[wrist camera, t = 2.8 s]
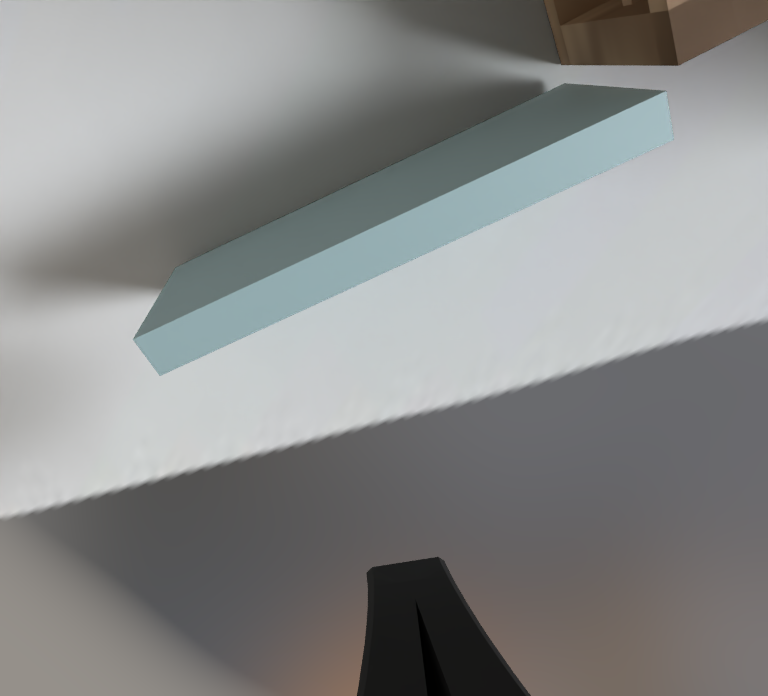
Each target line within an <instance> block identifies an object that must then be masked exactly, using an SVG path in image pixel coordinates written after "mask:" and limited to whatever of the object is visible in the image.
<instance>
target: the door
mask: <svg viewBox="0 0 768 696" xmlns="http://www.w3.org/2000/svg"><path fill="white" fill-rule="evenodd" d="M672 140H674V136H673V130H672V124H671V117H670V111H669V105H668V98H667V92H666V91H661V90H647V89H634V88H620V87H607V86H593V85H580V84H566V83H564V84H562V85H560V86H558V87H556V88H554V89H552V90H550V91H548V92H545V93H543V94H541V95H539V96H537V97H535V98H533V99H531V100H529V101H526V102H524V103H522V104H520V105H518V106H516V107H514V108H512V109H509V110H507V111H505V112H503V113H501V114H499V115H497V116H495V117H493V118H490V119H488V120H486V121H484V122H482V123H480V124H478V125H476V126H474V127H471V128H469V129H467V130H465V131H463V132H461V133H459V134H457V135H454V136H452V137H450V138H448V139H446V140H444V141H442V142H440V143H438V144H435V145H433V146H431V147H429V148H427V149H425V150H423V151H421V152H419V153H416V154H414V155H412V156H410V157H408V158H406V159H404V160H402V161H400V162H397V163H395V164H393V165H391V166H389V167H387V168H385V169H383V170H380V171H378V172H376V173H374V174H372V175H370V176H368V177H366V178H364V179H361V180H359V181H357V182H355V183H353V184H351V185H349V186H347V187H345V188H342V189H340V190H338V191H336V192H334V193H332V194H330V195H328V196H326V197H323V198H321V199H319V200H317V201H315V202H313V203H311V204H309V205H306V206H304V207H302V208H300V209H298V210H296V211H294V212H292V213H290V214H287V215H285V216H283V217H281V218H279V219H277V220H275V221H273V222H271V223H268V224H266V225H264V226H262V227H260V228H258V229H256V230H254V231H252V232H249V233H247V234H245V235H243V236H241V237H239V238H237V239H235V240H232V241H230V242H228V243H226V244H224V245H222V246H220V247H218V248H216V249H213V250H211V251H209V252H207V253H205V254H203V255H201V256H199V257H197V258H194V259H192V260H190V261H188V262H186V263H184V264H182V265H180V266H178V267H176V268H175V270H174V271H173V273H172V275H171V276H170V278H169V280H168V281H167V283H166V285H165V286H164V288H163V290H162V291H161V293H160V295H159V296H158V298H157V300H156V302H155V303H154V305H153V307H152V308H151V310H150V312H149V313H148V315H147V317H146V318H145V320H144V322H143V323H142V325H141V327H140V328H139V330H138V332H137V333H136V335H135V337H134V338H133V340H134V342H135V343H136V344H137V346H138V347H139V348H140V350H141V351H142V352H143V354H144V355H145V356H146V358H147V359H148V361H149V362H150V363H151V365H152V366H153V367H154V369H155V370H156V371H157V373H158V374H159V375H160V376H161V375H163V374H165V373H167V372H170V371H172V370H174V369H176V368H178V367H181V366H183V365H185V364H187V363H189V362H191V361H194V360H196V359H198V358H200V357H202V356H204V355H207V354H209V353H211V352H213V351H215V350H218V349H220V348H222V347H224V346H226V345H228V344H231V343H233V342H235V341H237V340H239V339H241V338H244V337H246V336H248V335H250V334H252V333H255V332H257V331H259V330H261V329H263V328H265V327H268V326H270V325H272V324H274V323H276V322H278V321H281V320H283V319H285V318H287V317H289V316H292V315H294V314H296V313H298V312H300V311H302V310H305V309H307V308H309V307H311V306H313V305H315V304H318V303H320V302H322V301H324V300H326V299H328V298H331V297H333V296H335V295H337V294H339V293H342V292H344V291H346V290H348V289H350V288H352V287H355V286H357V285H359V284H361V283H363V282H365V281H368V280H370V279H372V278H374V277H376V276H379V275H381V274H383V273H385V272H387V271H389V270H392V269H394V268H396V267H398V266H400V265H402V264H405V263H407V262H409V261H411V260H413V259H416V258H418V257H420V256H422V255H424V254H426V253H429V252H431V251H433V250H435V249H437V248H439V247H442V246H444V245H446V244H448V243H450V242H453V241H455V240H457V239H459V238H461V237H463V236H466V235H468V234H470V233H472V232H474V231H476V230H479V229H481V228H483V227H485V226H487V225H490V224H492V223H494V222H496V221H498V220H500V219H503V218H505V217H507V216H509V215H511V214H513V213H516V212H518V211H520V210H522V209H524V208H527V207H529V206H531V205H533V204H535V203H537V202H540V201H542V200H544V199H546V198H548V197H550V196H553V195H555V194H557V193H559V192H561V191H564V190H566V189H568V188H570V187H572V186H574V185H577V184H579V183H581V182H583V181H585V180H587V179H590V178H592V177H594V176H596V175H598V174H601V173H603V172H605V171H607V170H609V169H611V168H614V167H616V166H618V165H620V164H622V163H624V162H627V161H629V160H631V159H633V158H635V157H638V156H640V155H642V154H644V153H646V152H648V151H651V150H653V149H655V148H657V147H659V146H661V145H664V144H666V143H668V142H670V141H672Z"/></svg>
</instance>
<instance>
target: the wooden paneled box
mask: <svg viewBox="0 0 768 696" xmlns="http://www.w3.org/2000/svg"><path fill="white" fill-rule="evenodd" d="M544 3H545V7H546V11H547V14H548V18H549V21H550V25H551V29H552V32H553V36H554V40H555V43H556V47H557V50H558V54H559V58H560V61H561V65H672V66H678V65H680V64H682V63H684V62H686V61H688V60H690V59H692V58H694V57H696V56H698V55H700V54H702V53H704V52H706V51H708V50H710V49H712V48H714V47H716V46H718V45H720V44H722V43H724V42H726V41H728V40H730V39H731V38H733V37H735V36H737V35H739V34H741V33H743V32H745V31H747V30H749V29H751V28H753V27H755V26H757V25H759V24H761V23H763V22H765V21H767V20H768V0H544Z"/></svg>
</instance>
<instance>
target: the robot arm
mask: <svg viewBox="0 0 768 696" xmlns="http://www.w3.org/2000/svg"><path fill="white" fill-rule="evenodd" d="M367 582H368V613H367V626H366V636H365V646H364V653H363V660H362V666H361V673H360V680H359V687H358V693H357V696H531V695H530V694H529V693H528V691H527V690H526V689H525V687H524V686H523V685H522V683H521V682H520V681H519V679H518V678H517V677H516V675H515V674H514V673H513V671H512V670H511V668H510V667H509V665H508V664H507V663H506V661H505V660H504V658H503V657H502V655H501V654H500V653H499V651H498V650H497V648H496V647H495V645H494V644H493V643H492V641H491V640H490V638H489V637H488V635H487V634H486V632H485V631H484V629H483V628H482V626H481V625H480V623H479V622H478V620H477V618H476V617H475V615H474V614H473V612H472V610H471V609H470V607H469V606H468V604H467V602H466V601H465V599H464V597H463V595H462V594H461V592H460V590H459V589H458V587H457V585H456V584H455V581H454V580H453V578H452V576H451V574H450V572H449V570H448V568H447V566H446V564H445V561H444V560H442V559H441V558H439V557H435V558H428V559H422V560H416V561H409V562H403V563H396V564H390V565H383V566H377V567H372V568H371V569H370V570H369V571H368V572H367Z"/></svg>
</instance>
